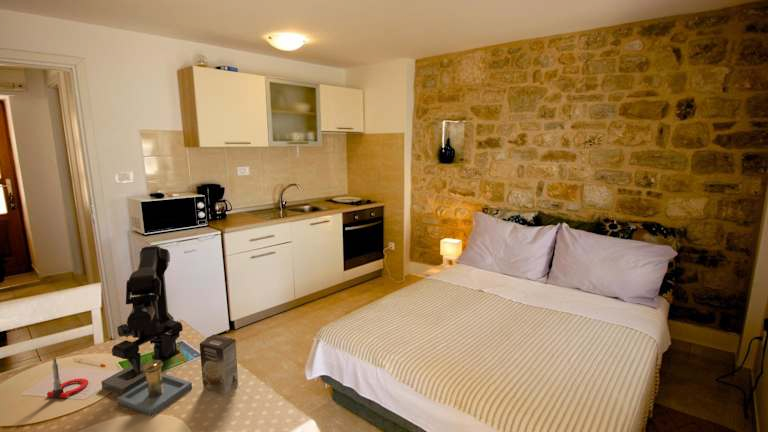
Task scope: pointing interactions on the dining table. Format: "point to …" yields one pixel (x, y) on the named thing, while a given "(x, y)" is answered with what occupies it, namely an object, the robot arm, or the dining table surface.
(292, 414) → the dining table surface
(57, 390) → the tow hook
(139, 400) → the tray
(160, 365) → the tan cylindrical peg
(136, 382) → the block
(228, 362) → the coffee box
